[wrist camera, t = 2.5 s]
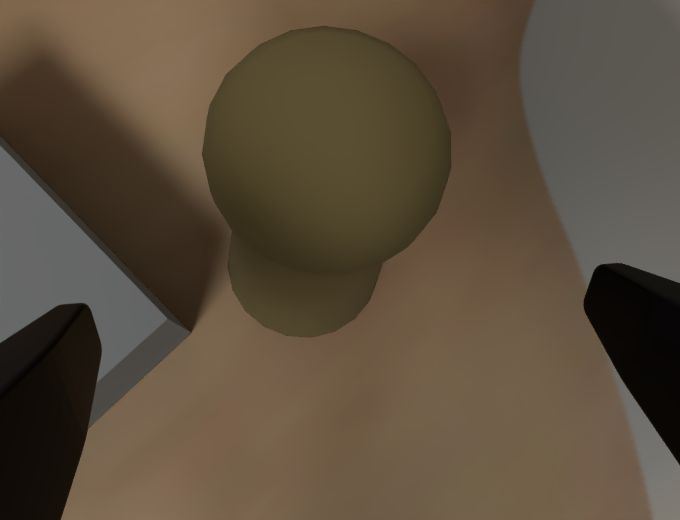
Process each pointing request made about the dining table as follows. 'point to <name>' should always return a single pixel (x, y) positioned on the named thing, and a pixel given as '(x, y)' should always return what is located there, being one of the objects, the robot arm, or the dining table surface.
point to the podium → (75, 282)
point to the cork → (322, 172)
